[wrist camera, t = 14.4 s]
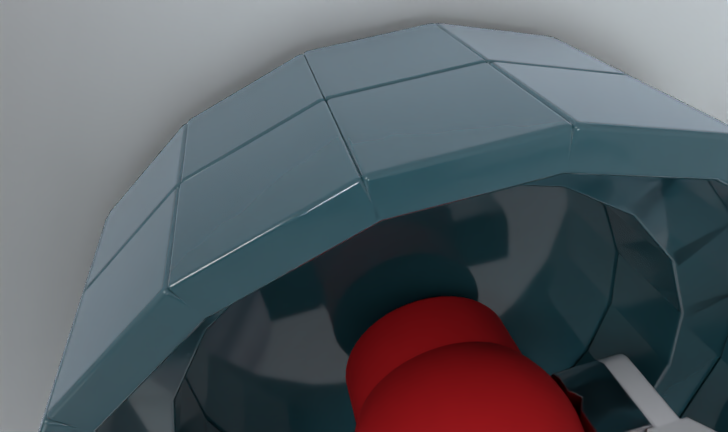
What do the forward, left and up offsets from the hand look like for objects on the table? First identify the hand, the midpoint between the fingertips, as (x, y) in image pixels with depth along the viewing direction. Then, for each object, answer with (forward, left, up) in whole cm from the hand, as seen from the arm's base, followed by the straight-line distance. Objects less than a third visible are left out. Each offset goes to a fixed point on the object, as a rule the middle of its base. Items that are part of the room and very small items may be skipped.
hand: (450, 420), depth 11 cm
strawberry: (0, 0, -2) cm, 2 cm away
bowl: (0, 0, -3) cm, 3 cm away
